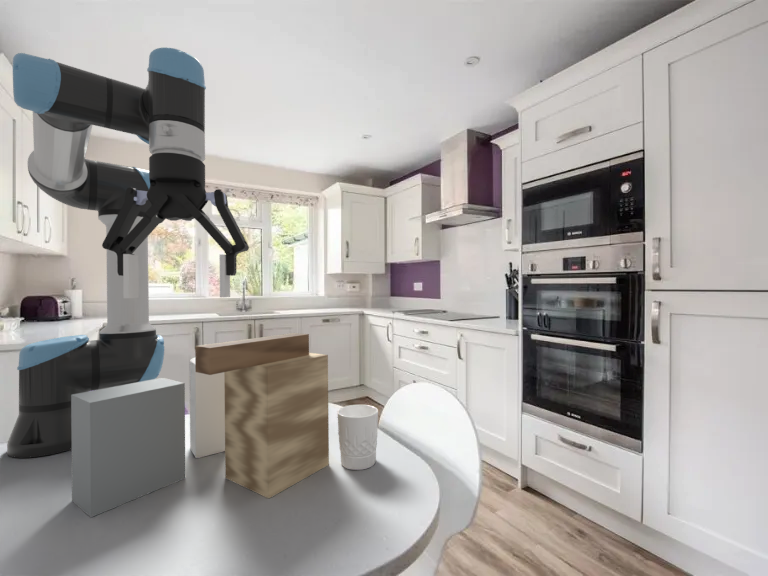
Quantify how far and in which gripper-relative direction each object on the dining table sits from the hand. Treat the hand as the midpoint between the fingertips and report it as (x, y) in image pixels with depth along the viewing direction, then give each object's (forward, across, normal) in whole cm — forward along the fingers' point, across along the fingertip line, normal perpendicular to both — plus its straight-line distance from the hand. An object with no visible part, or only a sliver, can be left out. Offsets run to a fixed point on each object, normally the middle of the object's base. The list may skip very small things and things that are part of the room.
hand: (178, 297), depth 58 cm
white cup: (+33, +28, +12) cm, 45 cm away
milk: (+33, -3, +22) cm, 40 cm away
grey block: (+32, -11, +8) cm, 35 cm away
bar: (+11, +10, +6) cm, 17 cm away
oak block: (+32, +13, +11) cm, 36 cm away
